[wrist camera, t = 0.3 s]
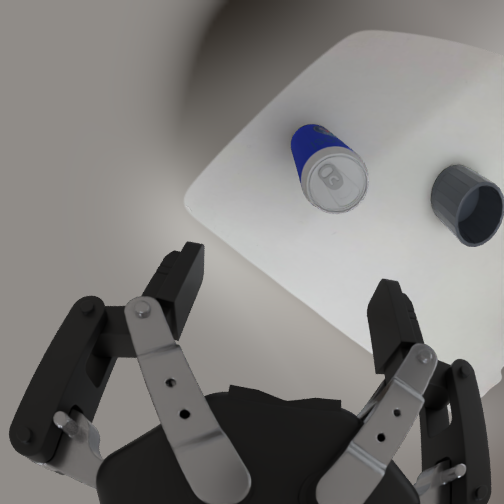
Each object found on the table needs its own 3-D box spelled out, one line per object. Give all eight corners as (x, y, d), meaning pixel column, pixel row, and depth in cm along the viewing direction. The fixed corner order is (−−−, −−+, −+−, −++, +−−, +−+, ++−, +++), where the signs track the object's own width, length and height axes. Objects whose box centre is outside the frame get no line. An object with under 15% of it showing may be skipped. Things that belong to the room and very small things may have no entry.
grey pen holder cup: (438, 159, 31) (466, 176, 25) (483, 170, 31) (511, 188, 25) (424, 219, 36) (446, 244, 30) (468, 225, 35) (492, 248, 29)
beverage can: (342, 147, 32) (385, 188, 19) (310, 173, 34) (332, 230, 21) (313, 114, 30) (343, 134, 18) (281, 142, 32) (286, 181, 20)
